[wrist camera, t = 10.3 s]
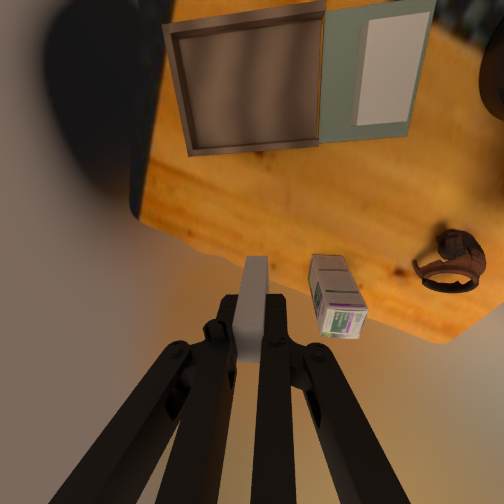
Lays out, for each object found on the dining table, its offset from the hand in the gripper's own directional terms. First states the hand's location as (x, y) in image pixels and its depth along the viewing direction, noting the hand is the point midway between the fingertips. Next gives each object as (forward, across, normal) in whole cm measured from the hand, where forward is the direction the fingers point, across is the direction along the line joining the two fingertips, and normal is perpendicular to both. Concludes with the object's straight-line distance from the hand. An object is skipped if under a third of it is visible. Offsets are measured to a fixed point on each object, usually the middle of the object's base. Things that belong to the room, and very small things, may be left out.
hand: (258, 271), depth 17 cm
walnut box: (+25, +2, -13) cm, 28 cm away
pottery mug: (+25, -30, +13) cm, 41 cm away
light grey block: (+24, -15, -13) cm, 31 cm away
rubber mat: (+25, -14, -13) cm, 31 cm away
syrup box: (+25, -10, +16) cm, 31 cm away
